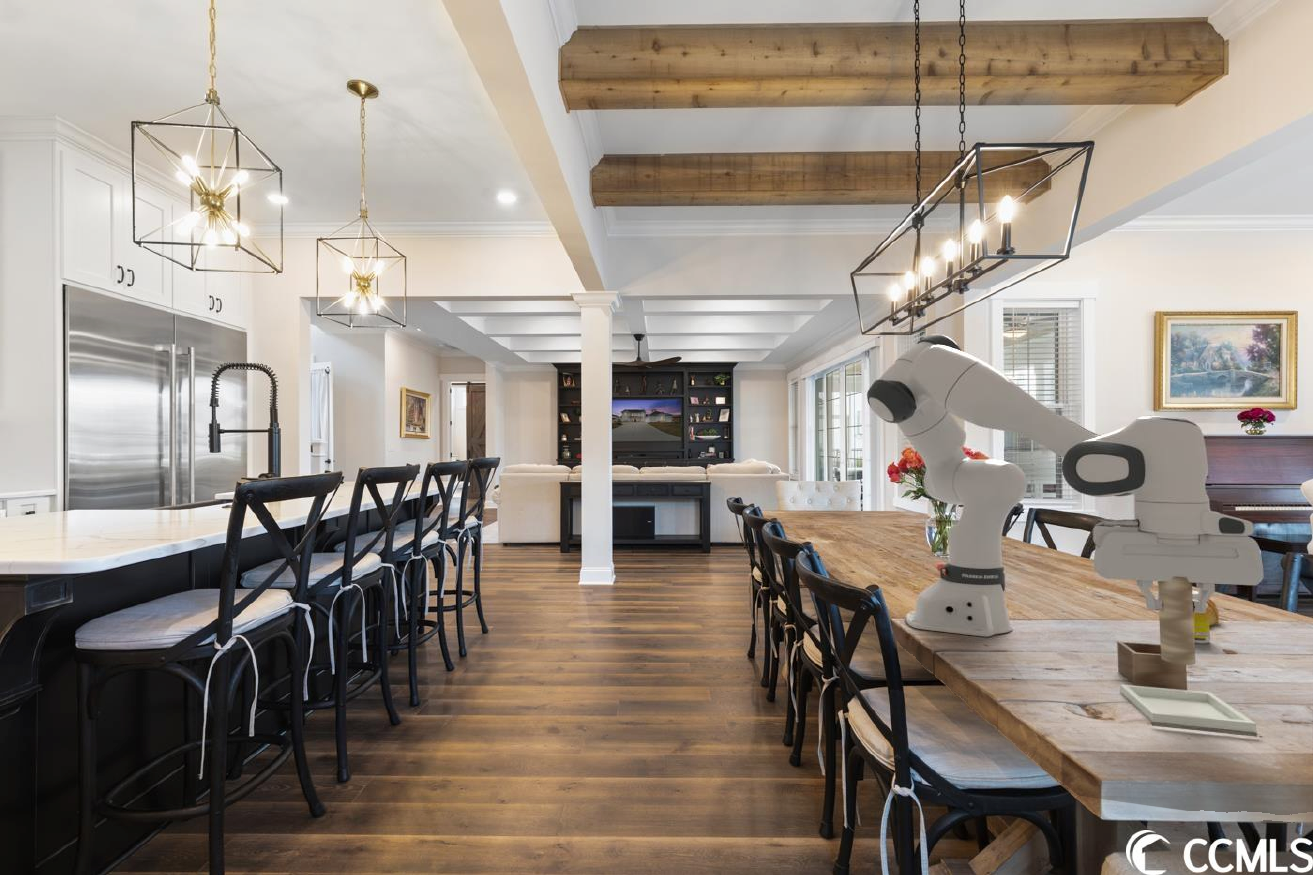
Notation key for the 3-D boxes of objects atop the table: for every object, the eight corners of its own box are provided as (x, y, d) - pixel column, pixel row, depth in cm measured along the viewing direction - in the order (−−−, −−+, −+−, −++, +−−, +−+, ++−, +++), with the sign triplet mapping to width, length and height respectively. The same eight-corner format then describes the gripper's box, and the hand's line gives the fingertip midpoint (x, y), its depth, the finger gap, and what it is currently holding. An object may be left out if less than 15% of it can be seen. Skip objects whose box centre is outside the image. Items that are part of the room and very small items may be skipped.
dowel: (1168, 663, 92) (1164, 576, 92) (1156, 655, 96) (1152, 571, 96) (1201, 665, 90) (1196, 577, 91) (1187, 657, 94) (1184, 573, 95)
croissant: (1205, 647, 136) (1227, 618, 133) (1153, 619, 142) (1173, 591, 139) (1208, 626, 151) (1227, 599, 149) (1160, 601, 157) (1178, 575, 155)
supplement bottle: (1212, 640, 129) (1210, 592, 129) (1207, 646, 125) (1204, 596, 126) (1178, 635, 133) (1176, 588, 134) (1172, 640, 130) (1170, 591, 130)
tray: (1153, 725, 89) (1152, 713, 89) (1120, 695, 100) (1119, 684, 100) (1256, 736, 85) (1256, 723, 85) (1210, 703, 97) (1210, 692, 97)
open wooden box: (1135, 689, 103) (1133, 653, 103) (1118, 674, 110) (1117, 641, 110) (1187, 693, 101) (1185, 657, 101) (1166, 678, 107) (1165, 644, 108)
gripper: (1099, 520, 94) (1102, 611, 94) (1267, 523, 88) (1272, 620, 87) (1085, 517, 100) (1089, 601, 100) (1242, 519, 94) (1246, 610, 93)
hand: (1175, 610), depth 93 cm, fingers closed on dowel, 4 cm apart
